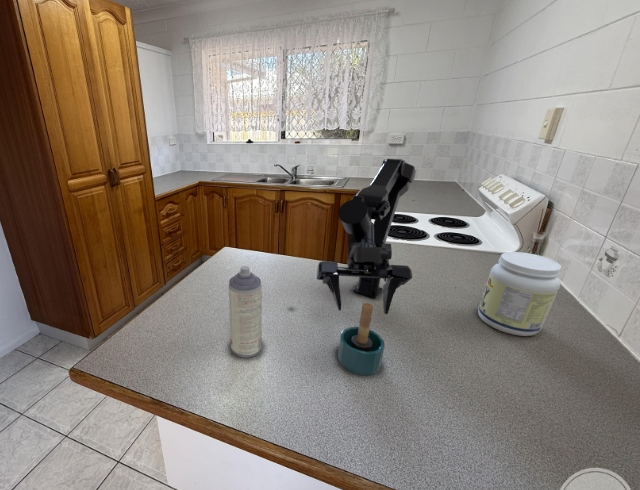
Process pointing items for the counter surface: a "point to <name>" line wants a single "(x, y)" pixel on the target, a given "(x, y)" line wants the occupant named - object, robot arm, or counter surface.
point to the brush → (363, 330)
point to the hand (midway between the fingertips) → (362, 312)
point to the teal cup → (360, 353)
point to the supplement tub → (520, 293)
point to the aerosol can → (245, 313)
